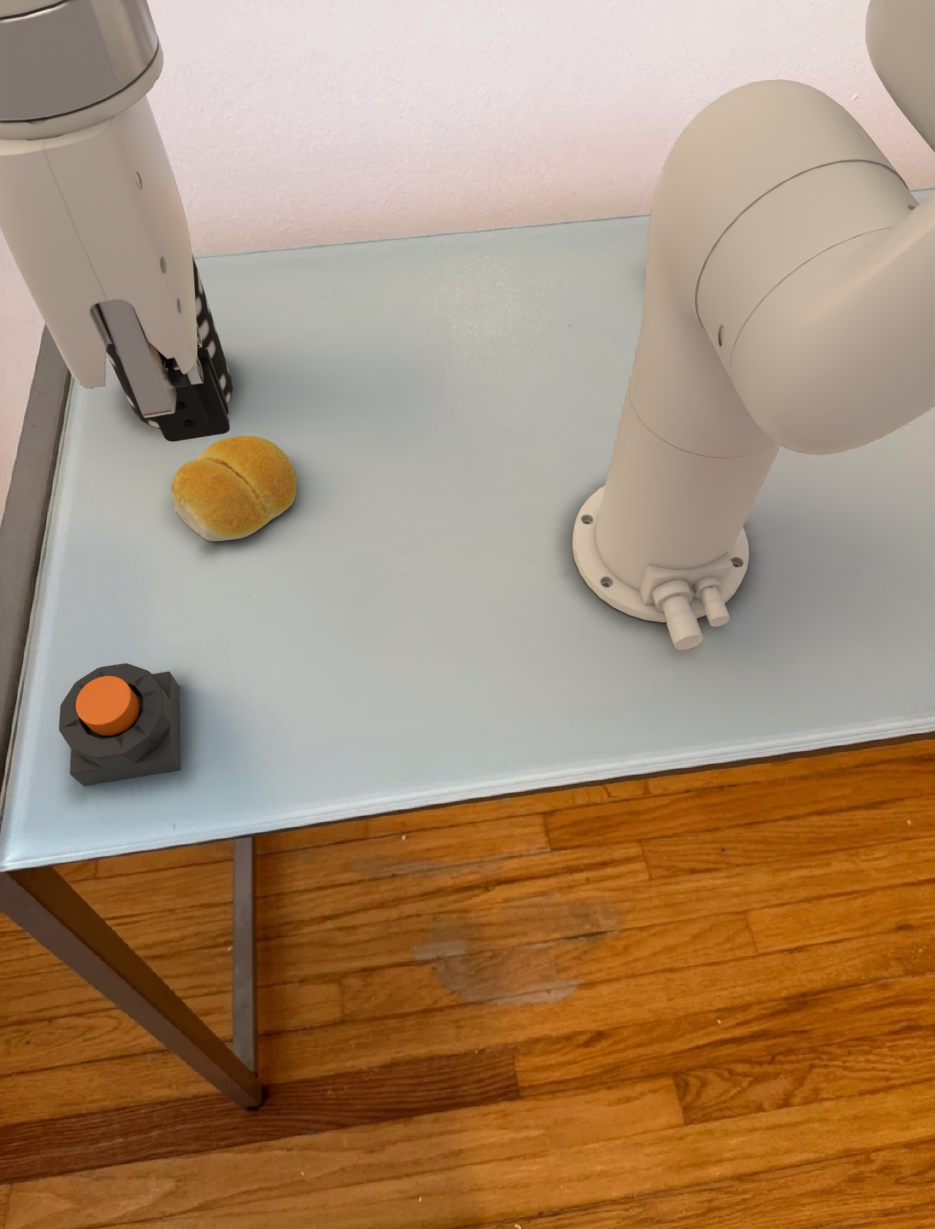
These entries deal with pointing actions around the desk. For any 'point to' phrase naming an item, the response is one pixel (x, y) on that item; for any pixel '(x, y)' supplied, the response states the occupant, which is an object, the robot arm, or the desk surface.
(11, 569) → the desk surface
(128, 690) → the button
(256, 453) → the bread roll
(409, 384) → the desk surface
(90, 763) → the control block
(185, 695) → the desk surface
